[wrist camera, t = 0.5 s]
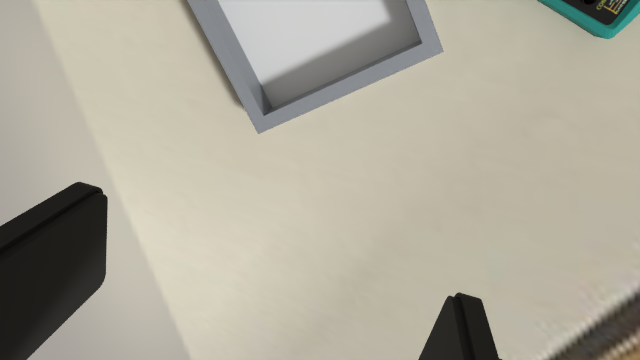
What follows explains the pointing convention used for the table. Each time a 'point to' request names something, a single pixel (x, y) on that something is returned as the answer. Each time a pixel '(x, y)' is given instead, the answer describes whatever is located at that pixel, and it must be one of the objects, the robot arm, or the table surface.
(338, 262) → the table surface
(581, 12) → the digital multimeter
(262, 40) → the square open box
